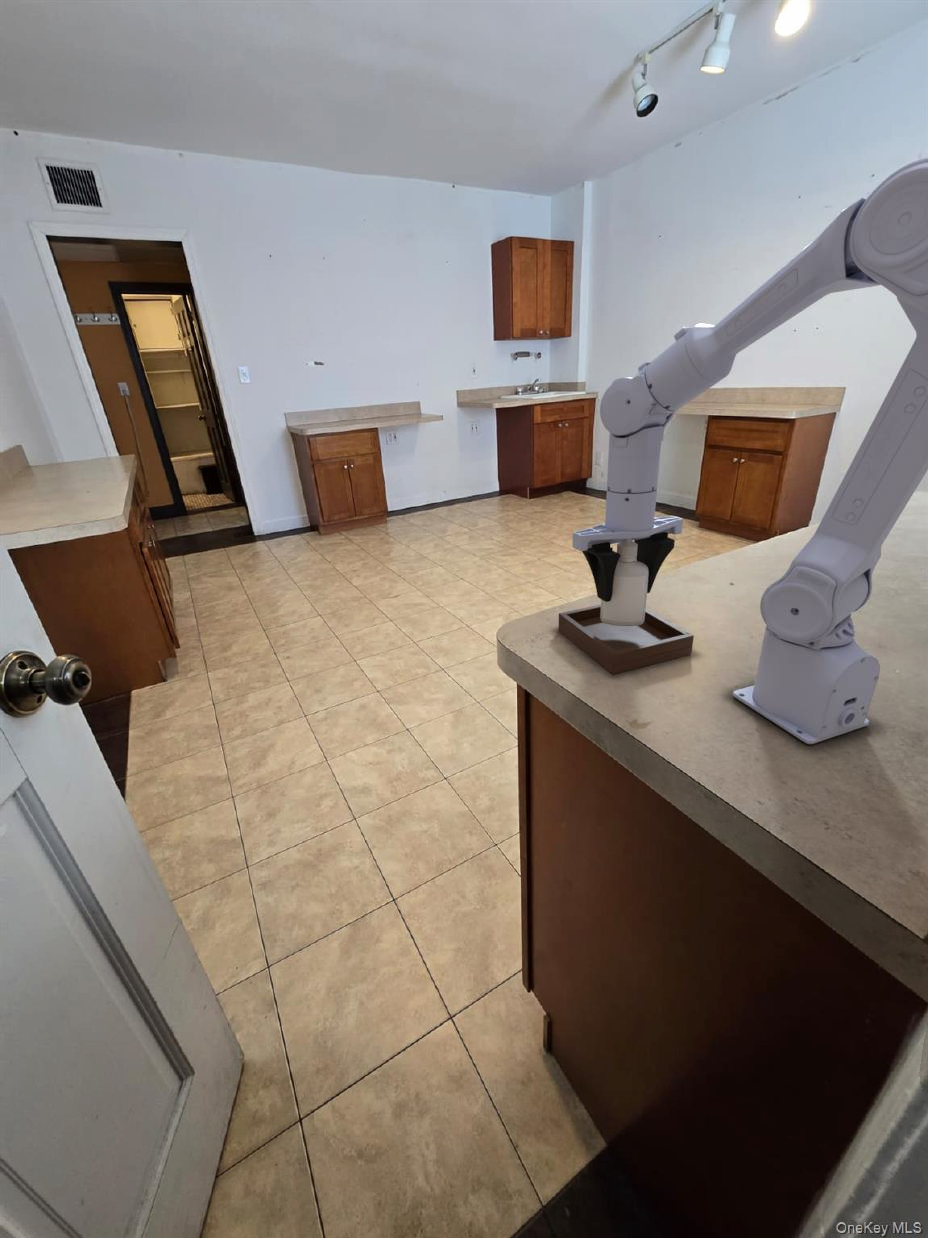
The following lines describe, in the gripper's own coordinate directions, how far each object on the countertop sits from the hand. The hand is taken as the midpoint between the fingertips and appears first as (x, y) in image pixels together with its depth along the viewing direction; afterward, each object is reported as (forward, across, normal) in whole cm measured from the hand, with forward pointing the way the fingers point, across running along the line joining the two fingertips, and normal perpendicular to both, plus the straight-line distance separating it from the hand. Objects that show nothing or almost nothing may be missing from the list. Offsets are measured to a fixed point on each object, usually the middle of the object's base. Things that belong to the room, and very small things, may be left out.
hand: (624, 594), depth 67 cm
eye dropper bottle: (+4, 0, 0) cm, 4 cm away
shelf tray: (+7, 0, 0) cm, 7 cm away
